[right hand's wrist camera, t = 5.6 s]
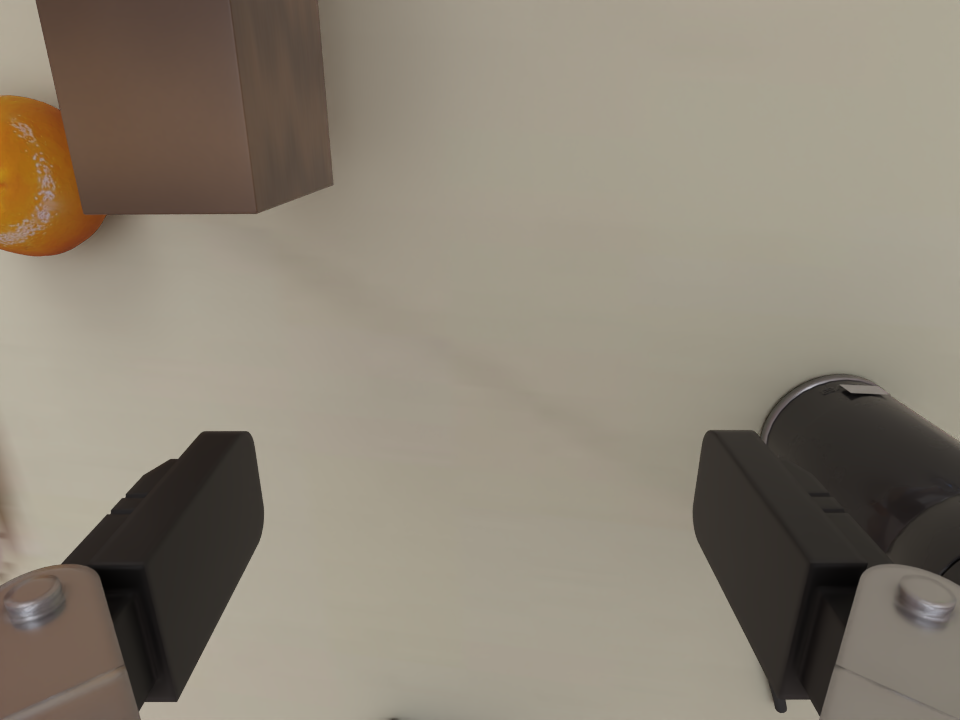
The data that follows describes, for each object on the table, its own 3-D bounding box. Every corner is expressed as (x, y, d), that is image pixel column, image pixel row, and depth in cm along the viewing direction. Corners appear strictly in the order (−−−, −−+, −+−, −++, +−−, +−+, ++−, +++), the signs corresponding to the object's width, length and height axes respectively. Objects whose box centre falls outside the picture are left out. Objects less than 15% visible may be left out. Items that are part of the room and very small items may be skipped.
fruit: (-74, 54, 33) (-125, 141, 28) (112, 83, 36) (93, 165, 32) (-30, 186, 39) (-66, 276, 34) (126, 201, 42) (112, 285, 38)
